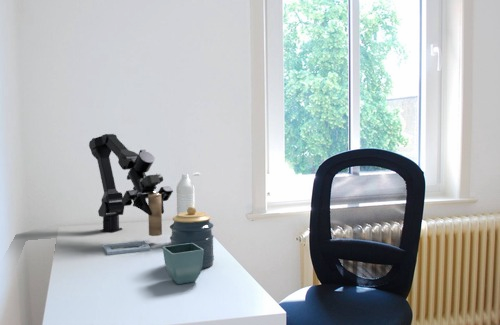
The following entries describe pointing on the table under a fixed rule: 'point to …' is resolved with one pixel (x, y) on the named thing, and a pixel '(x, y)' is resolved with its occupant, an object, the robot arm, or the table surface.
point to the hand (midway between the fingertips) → (157, 213)
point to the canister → (194, 232)
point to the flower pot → (183, 262)
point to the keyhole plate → (120, 249)
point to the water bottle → (185, 193)
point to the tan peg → (155, 214)
